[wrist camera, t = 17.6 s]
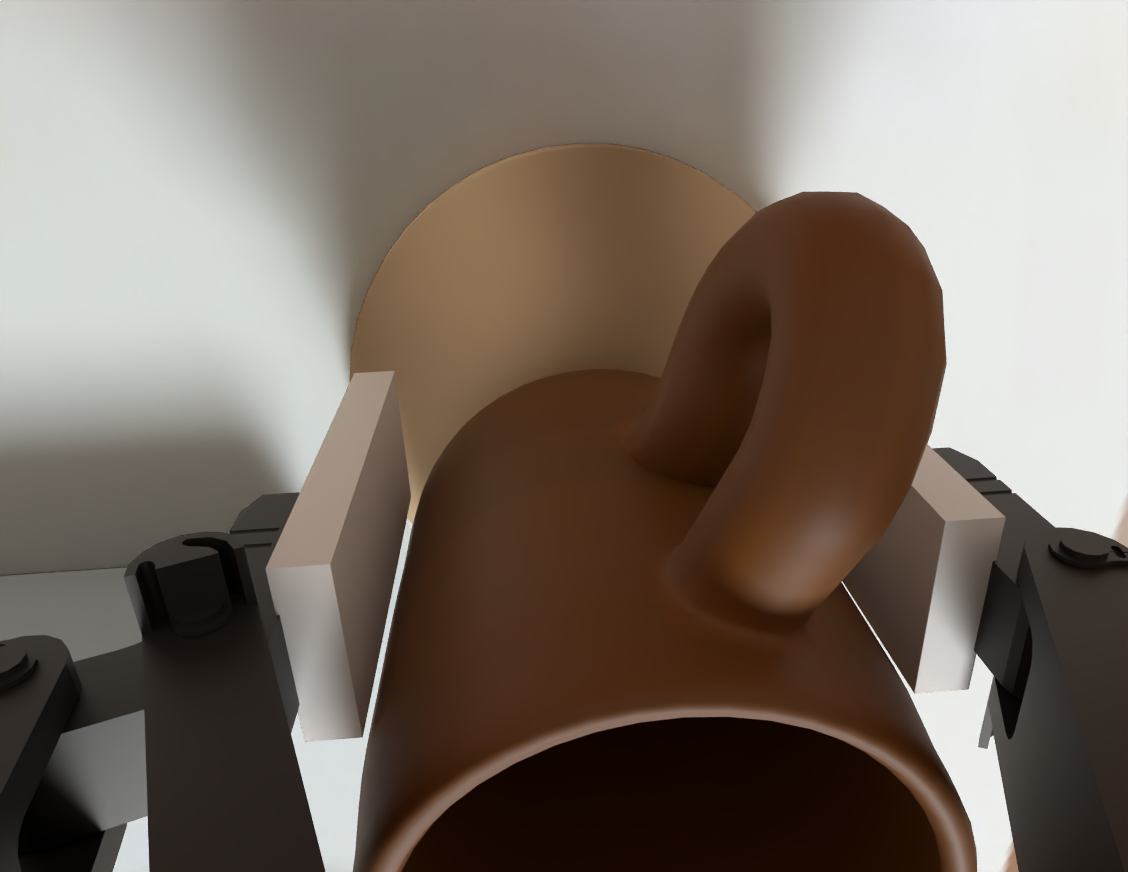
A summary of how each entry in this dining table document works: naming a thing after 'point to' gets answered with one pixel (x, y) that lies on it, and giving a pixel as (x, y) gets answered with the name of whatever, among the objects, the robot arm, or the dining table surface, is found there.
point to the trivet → (537, 281)
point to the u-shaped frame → (70, 610)
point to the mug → (679, 591)
